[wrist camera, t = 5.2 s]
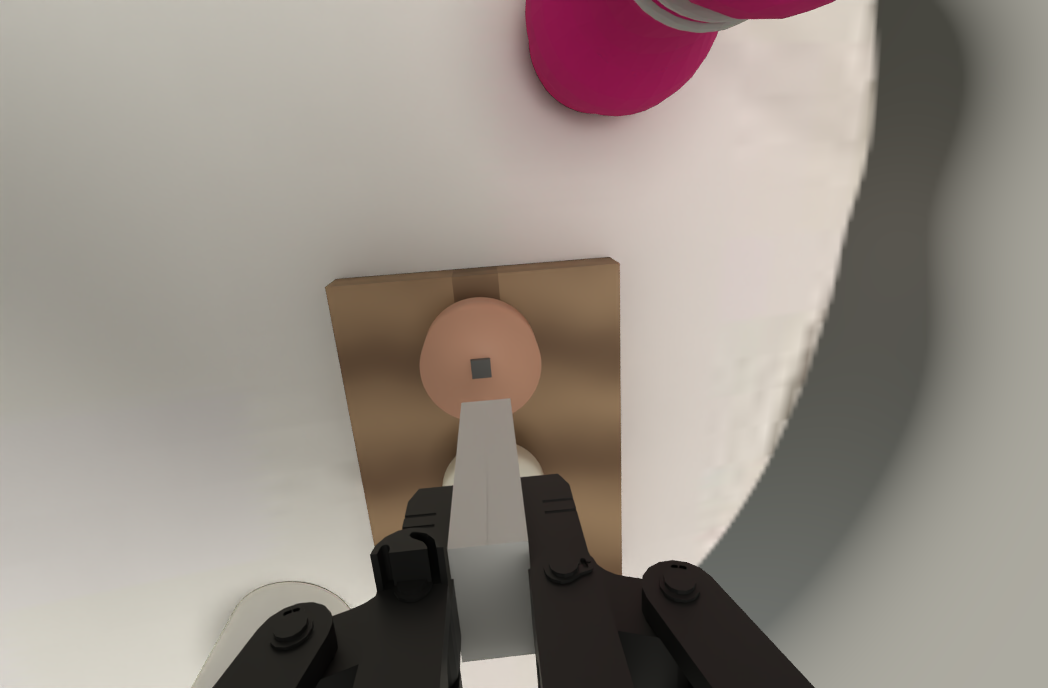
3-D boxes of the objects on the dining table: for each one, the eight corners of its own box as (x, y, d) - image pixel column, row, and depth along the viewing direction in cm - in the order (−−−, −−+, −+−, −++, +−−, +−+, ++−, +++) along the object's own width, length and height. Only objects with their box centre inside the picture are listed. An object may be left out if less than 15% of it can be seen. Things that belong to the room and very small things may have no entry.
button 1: (422, 291, 24) (411, 315, 20) (528, 282, 25) (538, 304, 20) (435, 388, 26) (427, 430, 22) (534, 379, 26) (545, 418, 22)
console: (336, 279, 26) (325, 287, 24) (609, 257, 27) (619, 263, 25) (393, 593, 32) (388, 619, 31) (613, 568, 33) (622, 591, 31)
